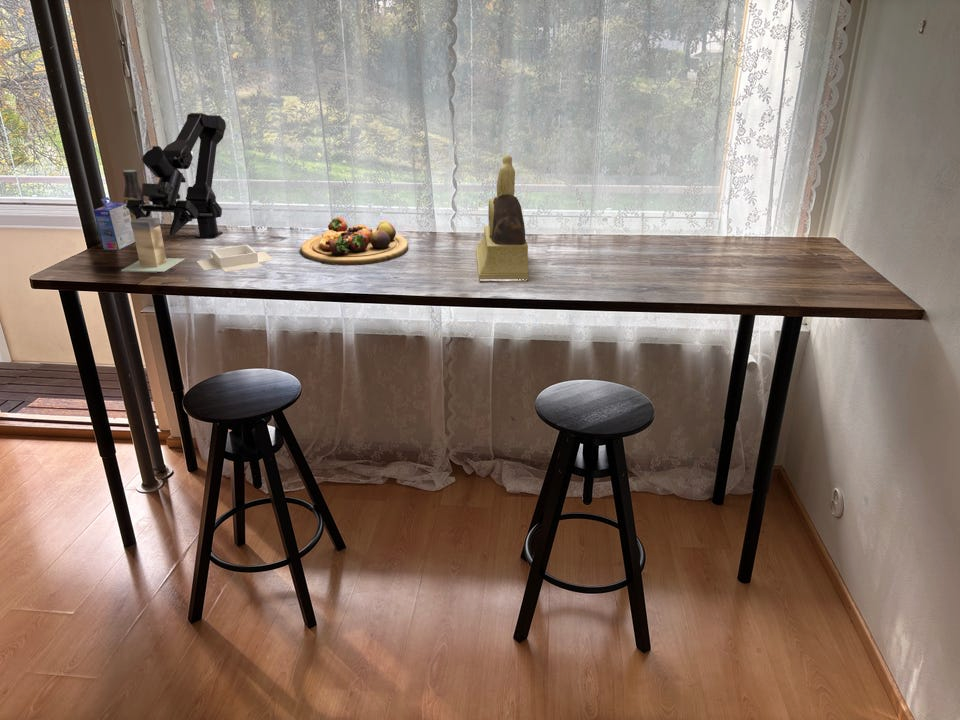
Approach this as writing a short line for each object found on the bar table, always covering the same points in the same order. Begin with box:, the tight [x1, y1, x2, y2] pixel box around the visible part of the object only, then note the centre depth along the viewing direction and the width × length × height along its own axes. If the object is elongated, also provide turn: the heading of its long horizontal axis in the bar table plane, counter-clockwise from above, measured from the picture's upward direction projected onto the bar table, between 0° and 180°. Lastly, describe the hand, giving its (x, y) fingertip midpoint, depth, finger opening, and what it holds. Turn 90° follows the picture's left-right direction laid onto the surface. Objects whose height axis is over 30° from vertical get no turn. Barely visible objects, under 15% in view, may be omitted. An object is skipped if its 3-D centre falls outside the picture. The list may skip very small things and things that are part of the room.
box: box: [131, 216, 167, 267], centre depth 193 cm, size 5×5×12 cm
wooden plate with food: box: [300, 216, 409, 266], centre depth 210 cm, size 32×32×8 cm
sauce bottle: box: [122, 169, 147, 221], centre depth 226 cm, size 7×6×20 cm
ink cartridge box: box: [93, 196, 135, 251], centre depth 212 cm, size 10×6×14 cm, turn 174°
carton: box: [196, 244, 275, 273], centre depth 199 cm, size 19×19×3 cm
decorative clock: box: [475, 154, 529, 281], centre depth 190 cm, size 28×13×30 cm, turn 2°
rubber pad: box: [121, 257, 185, 273], centre depth 196 cm, size 12×12×1 cm
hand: (155, 235), depth 196 cm, fingers open, 9 cm apart
